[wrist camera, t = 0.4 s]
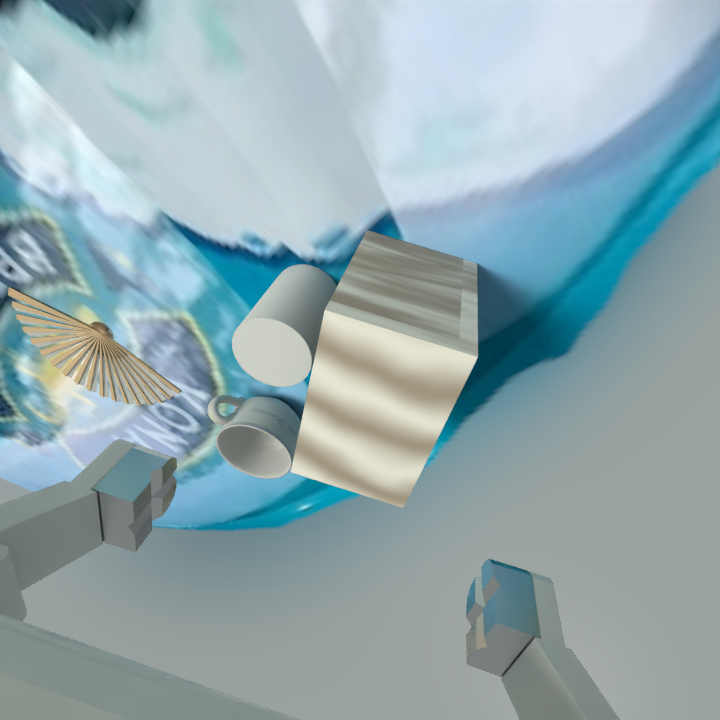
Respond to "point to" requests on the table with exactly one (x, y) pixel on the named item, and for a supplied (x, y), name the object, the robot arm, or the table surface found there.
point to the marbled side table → (388, 367)
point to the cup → (284, 327)
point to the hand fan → (105, 342)
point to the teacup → (257, 435)
